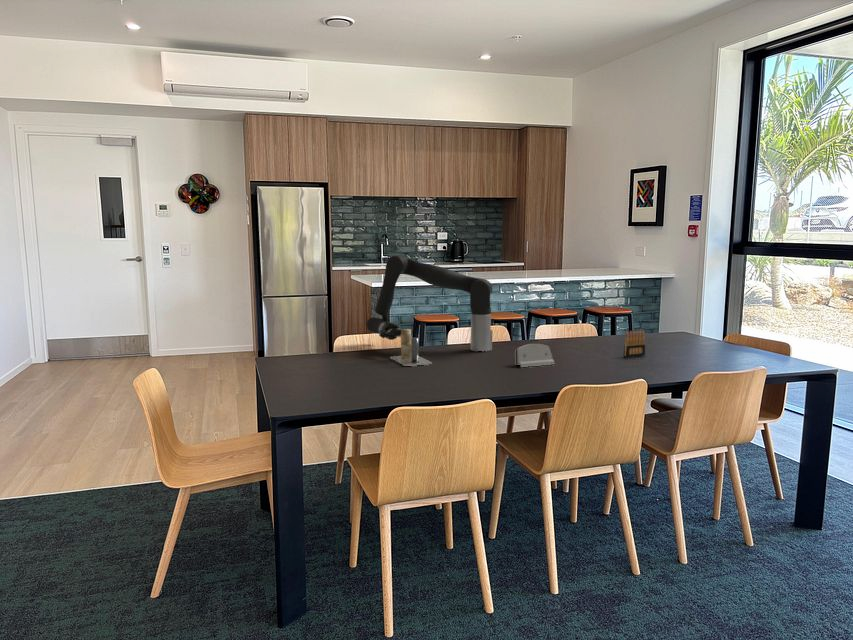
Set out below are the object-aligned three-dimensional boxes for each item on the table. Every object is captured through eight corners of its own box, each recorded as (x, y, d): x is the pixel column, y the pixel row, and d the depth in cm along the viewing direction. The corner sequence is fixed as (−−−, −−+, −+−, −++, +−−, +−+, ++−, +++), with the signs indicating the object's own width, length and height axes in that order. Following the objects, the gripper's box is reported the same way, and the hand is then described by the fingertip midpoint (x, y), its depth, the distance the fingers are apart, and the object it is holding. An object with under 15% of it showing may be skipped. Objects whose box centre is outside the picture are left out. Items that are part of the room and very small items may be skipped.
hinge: (520, 368, 254) (517, 344, 256) (515, 369, 259) (511, 346, 260) (555, 365, 260) (552, 341, 262) (549, 366, 265) (546, 343, 266)
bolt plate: (415, 356, 277) (415, 332, 275) (431, 364, 260) (432, 338, 259) (390, 358, 272) (390, 334, 270) (405, 367, 256) (405, 340, 254)
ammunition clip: (626, 357, 276) (627, 330, 275) (623, 356, 278) (624, 330, 276) (645, 355, 280) (646, 329, 279) (642, 355, 282) (643, 328, 280)
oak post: (409, 355, 273) (408, 328, 272) (412, 357, 269) (412, 330, 268) (399, 356, 272) (399, 329, 270) (403, 358, 268) (403, 330, 266)
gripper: (374, 323, 286) (386, 328, 271) (403, 321, 292) (416, 326, 277) (374, 339, 287) (386, 345, 272) (403, 337, 293) (416, 343, 278)
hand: (401, 335), depth 275 cm, fingers open, 8 cm apart
